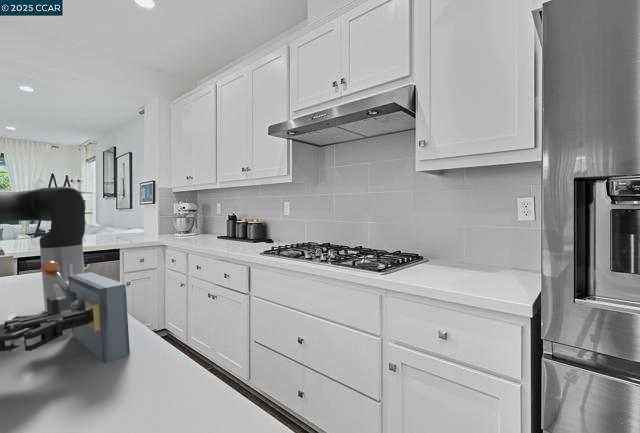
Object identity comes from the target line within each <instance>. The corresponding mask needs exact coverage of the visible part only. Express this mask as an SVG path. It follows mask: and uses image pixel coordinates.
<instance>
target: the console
mask: <svg viewBox="0 0 640 433" xmlns="http://www.w3.org/2000/svg"><path fill="white" fill-rule="evenodd" d="M68 277H69V288H70V289H71V290H72V292H73V293H74V294H75V296H76V297H77V298H78V299H80V300H82V301H83V302H84V306H83V308H81V309H80V310H75V309H71V313H74V312H78V311H82V310H85V301H87V300H93V301H95V302H97V303H99V304H100V316H101V330H99V331H96V332H94V331H93V330H92V329H90V328H89V327H87V325H82V326H78V327H74V328H71V329H72V330H71V331H72V337H73V338H74V339H76V340H77V341H78V342H79V343H80V344H81V345H83V346H84V347H85V348H87V350H89V351H90V352H91V353H92V354H94V355H95V356H96V357H97V358H98V359H99V360H100V361H102V362H103V363H104V364H106V363H109V362H112V361H114V360H117V359H122V358H123V357H126V356H129V355H131V351H130V339H129V338H130V336H129V332H130V331H129V321H128V320H129V318H128V317H129V316H128V302H127V290H126V289H127V287H126V283H124V282H120V281H118V280H115V279H111V278H109V277H105V276H102V275H100V274H98V273H95V272H88V271H87V272H85V273H82V274H76V275H70V276H68Z"/></svg>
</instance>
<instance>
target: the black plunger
mask: <svg viewBox="0 0 640 433" xmlns="http://www.w3.org/2000/svg"><path fill="white" fill-rule="evenodd" d="M69 302H70V301H69V300H68V298H67V297H66V296H63V297H58V298H55V297H53V296H52V297H47V310H48V312H47V314H49V313H54V315H56V314H60V312H61V311H66V310H70V309H73V308H72V307H70V306H69Z"/></svg>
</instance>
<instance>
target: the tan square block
mask: <svg viewBox="0 0 640 433" xmlns="http://www.w3.org/2000/svg"><path fill="white" fill-rule="evenodd" d="M85 310H88V311H89V312H90V313H91V322H90V323H89V324H86V325H87V327H89V328H90V329H92V330H93V331H94V332H96V331H99V330H101V316H100V304H99V303H97V302H95V301H93V300H87V301H85Z"/></svg>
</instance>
